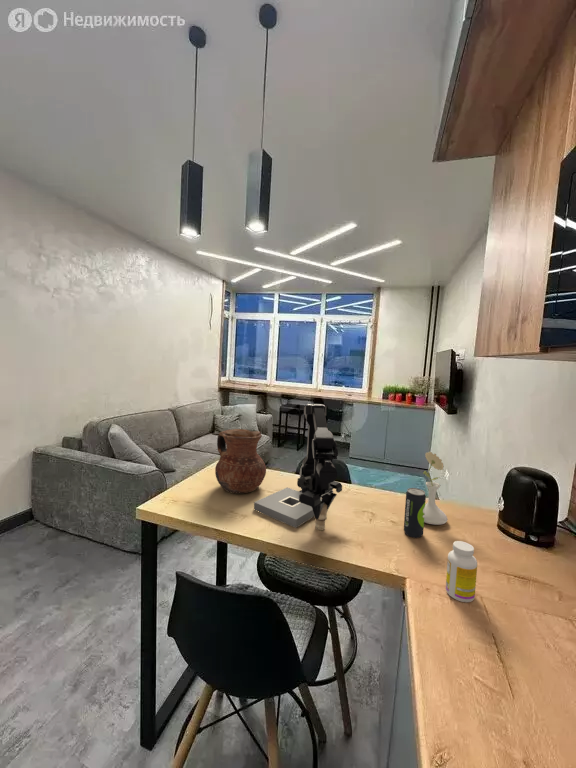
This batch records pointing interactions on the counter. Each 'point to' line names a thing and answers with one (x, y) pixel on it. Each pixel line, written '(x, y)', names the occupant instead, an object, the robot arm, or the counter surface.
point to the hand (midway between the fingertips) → (320, 516)
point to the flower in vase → (433, 494)
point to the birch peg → (321, 518)
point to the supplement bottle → (461, 572)
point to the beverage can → (414, 512)
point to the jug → (239, 461)
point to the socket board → (285, 507)
